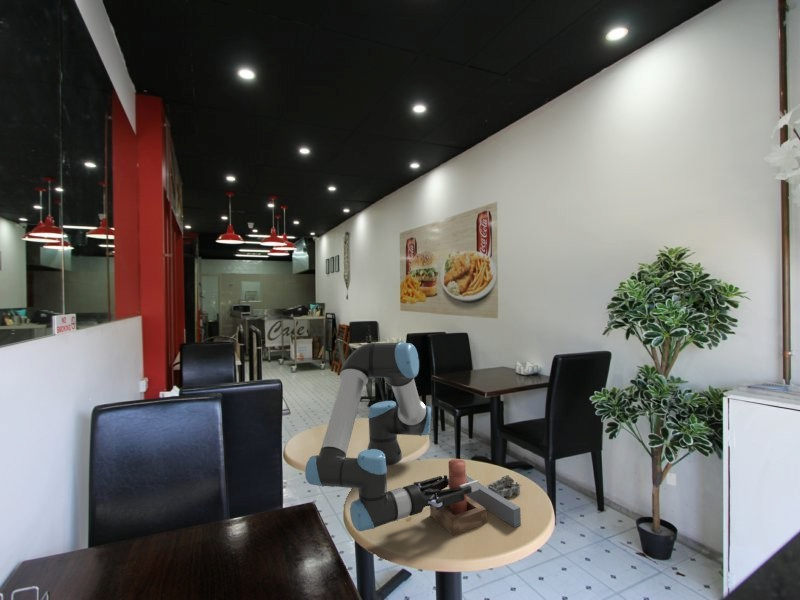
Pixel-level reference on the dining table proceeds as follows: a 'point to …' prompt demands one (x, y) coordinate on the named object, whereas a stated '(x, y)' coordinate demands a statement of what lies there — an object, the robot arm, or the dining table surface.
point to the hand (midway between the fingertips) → (471, 481)
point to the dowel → (457, 483)
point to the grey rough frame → (500, 486)
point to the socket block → (460, 517)
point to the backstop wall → (496, 504)
